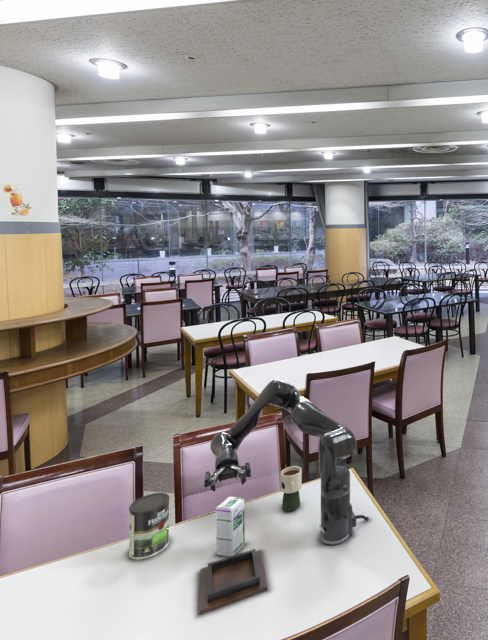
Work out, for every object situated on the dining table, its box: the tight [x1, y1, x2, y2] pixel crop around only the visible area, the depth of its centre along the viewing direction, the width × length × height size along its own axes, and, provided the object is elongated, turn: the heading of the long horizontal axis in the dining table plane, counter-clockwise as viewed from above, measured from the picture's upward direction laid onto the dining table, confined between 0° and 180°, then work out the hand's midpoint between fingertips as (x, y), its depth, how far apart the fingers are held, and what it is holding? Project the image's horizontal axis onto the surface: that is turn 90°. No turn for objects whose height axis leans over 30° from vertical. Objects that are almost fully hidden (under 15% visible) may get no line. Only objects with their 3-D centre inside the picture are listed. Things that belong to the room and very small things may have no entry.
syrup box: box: [215, 496, 246, 557], centre depth 132 cm, size 6×6×14 cm
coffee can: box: [128, 492, 170, 561], centre depth 133 cm, size 10×10×14 cm
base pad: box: [199, 548, 268, 615], centre depth 119 cm, size 16×16×3 cm
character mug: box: [280, 465, 303, 512], centre depth 153 cm, size 11×7×13 cm, turn 22°
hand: (228, 485), depth 142 cm, fingers open, 8 cm apart
